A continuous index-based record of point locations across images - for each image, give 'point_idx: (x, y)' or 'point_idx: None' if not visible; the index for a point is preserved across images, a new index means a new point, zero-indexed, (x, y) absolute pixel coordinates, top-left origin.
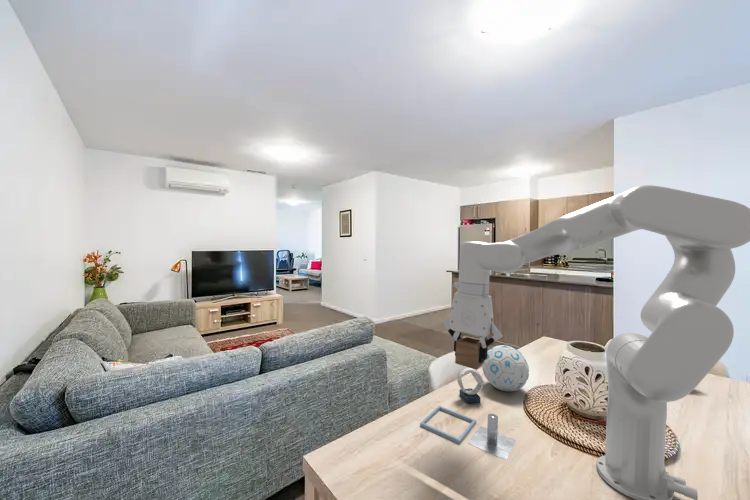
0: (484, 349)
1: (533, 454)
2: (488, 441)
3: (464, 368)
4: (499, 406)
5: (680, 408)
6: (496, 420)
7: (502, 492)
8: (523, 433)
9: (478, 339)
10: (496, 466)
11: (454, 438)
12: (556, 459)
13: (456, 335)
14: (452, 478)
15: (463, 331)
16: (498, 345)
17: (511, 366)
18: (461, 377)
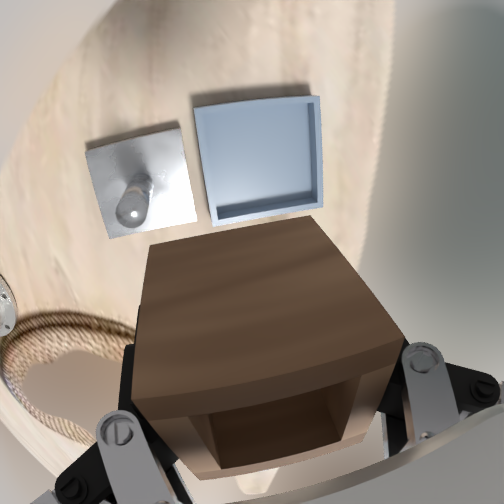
0: (127, 405)
1: (74, 234)
2: (144, 175)
3: None
4: None
5: (68, 457)
6: (116, 207)
7: (59, 72)
8: (125, 283)
9: (245, 468)
10: (100, 127)
11: (210, 106)
12: (46, 256)
13: (426, 392)
14: (152, 13)
15: (384, 487)
16: None
17: None
18: None
